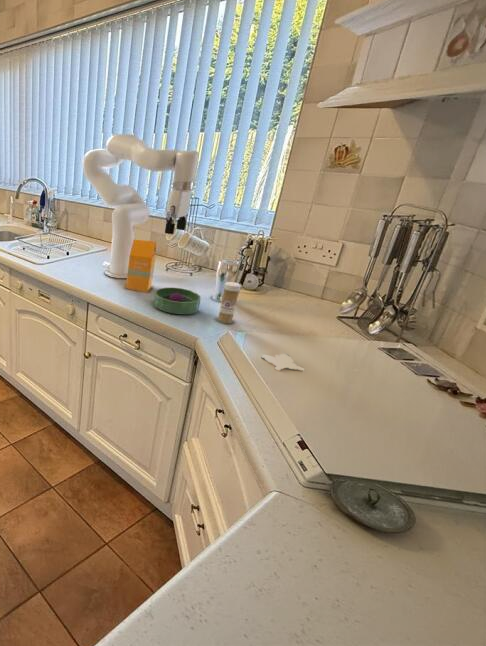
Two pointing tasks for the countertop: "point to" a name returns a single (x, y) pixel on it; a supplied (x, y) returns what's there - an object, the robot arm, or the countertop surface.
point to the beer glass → (225, 276)
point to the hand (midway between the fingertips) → (174, 231)
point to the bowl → (176, 307)
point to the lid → (373, 506)
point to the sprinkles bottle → (228, 302)
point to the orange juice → (141, 265)
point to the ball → (177, 297)
